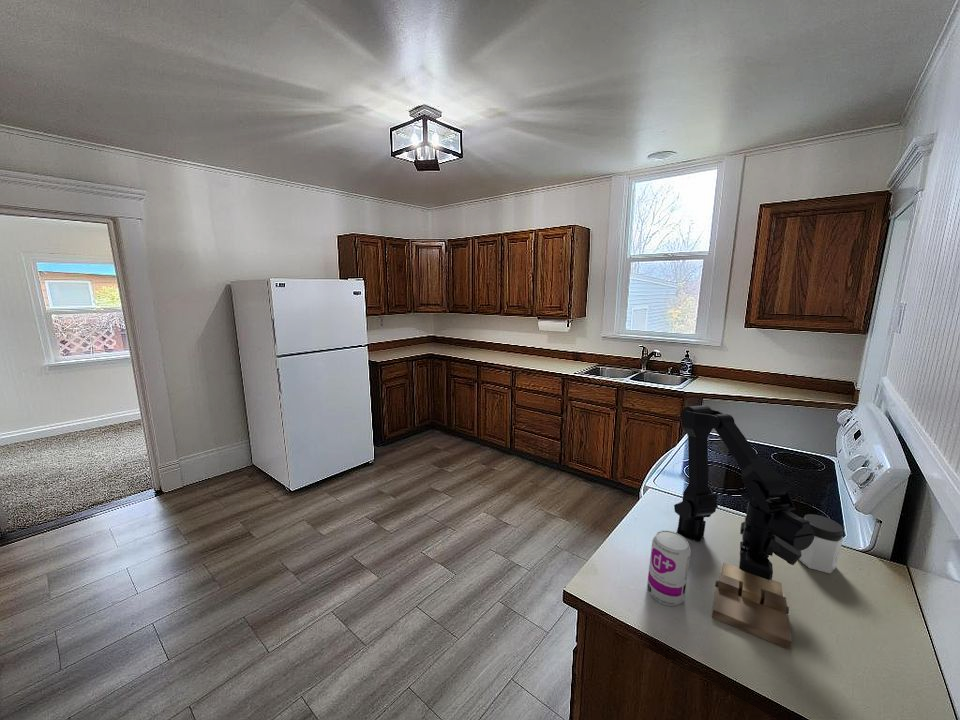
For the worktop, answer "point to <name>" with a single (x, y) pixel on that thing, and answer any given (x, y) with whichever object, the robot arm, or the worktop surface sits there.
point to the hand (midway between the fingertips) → (750, 577)
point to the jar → (823, 544)
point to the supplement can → (668, 568)
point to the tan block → (751, 584)
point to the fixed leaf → (752, 612)
